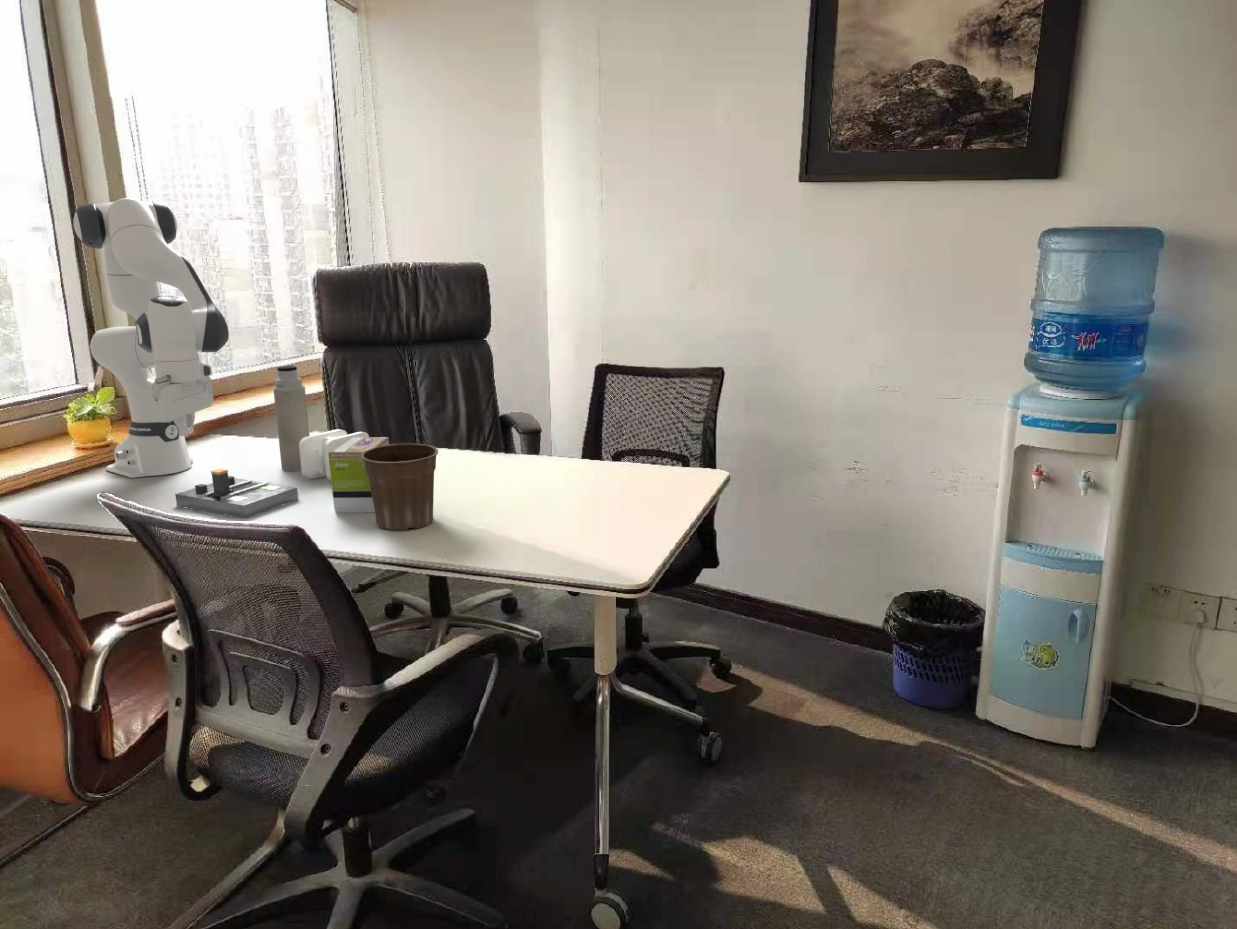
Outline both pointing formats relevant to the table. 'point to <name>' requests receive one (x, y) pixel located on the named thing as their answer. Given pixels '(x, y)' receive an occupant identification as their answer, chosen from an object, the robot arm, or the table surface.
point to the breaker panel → (238, 498)
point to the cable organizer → (321, 451)
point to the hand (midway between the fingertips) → (186, 434)
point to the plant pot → (401, 484)
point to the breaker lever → (220, 482)
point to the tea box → (352, 474)
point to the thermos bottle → (290, 416)
